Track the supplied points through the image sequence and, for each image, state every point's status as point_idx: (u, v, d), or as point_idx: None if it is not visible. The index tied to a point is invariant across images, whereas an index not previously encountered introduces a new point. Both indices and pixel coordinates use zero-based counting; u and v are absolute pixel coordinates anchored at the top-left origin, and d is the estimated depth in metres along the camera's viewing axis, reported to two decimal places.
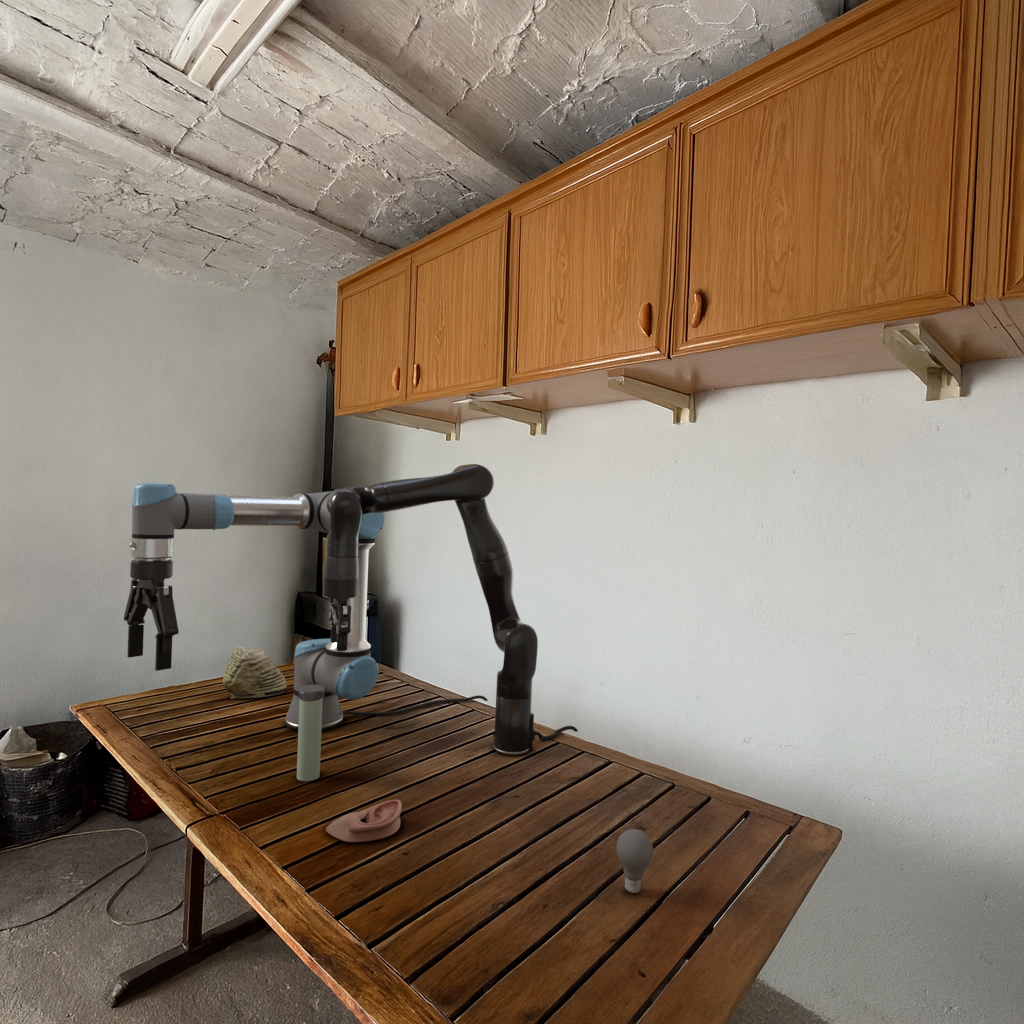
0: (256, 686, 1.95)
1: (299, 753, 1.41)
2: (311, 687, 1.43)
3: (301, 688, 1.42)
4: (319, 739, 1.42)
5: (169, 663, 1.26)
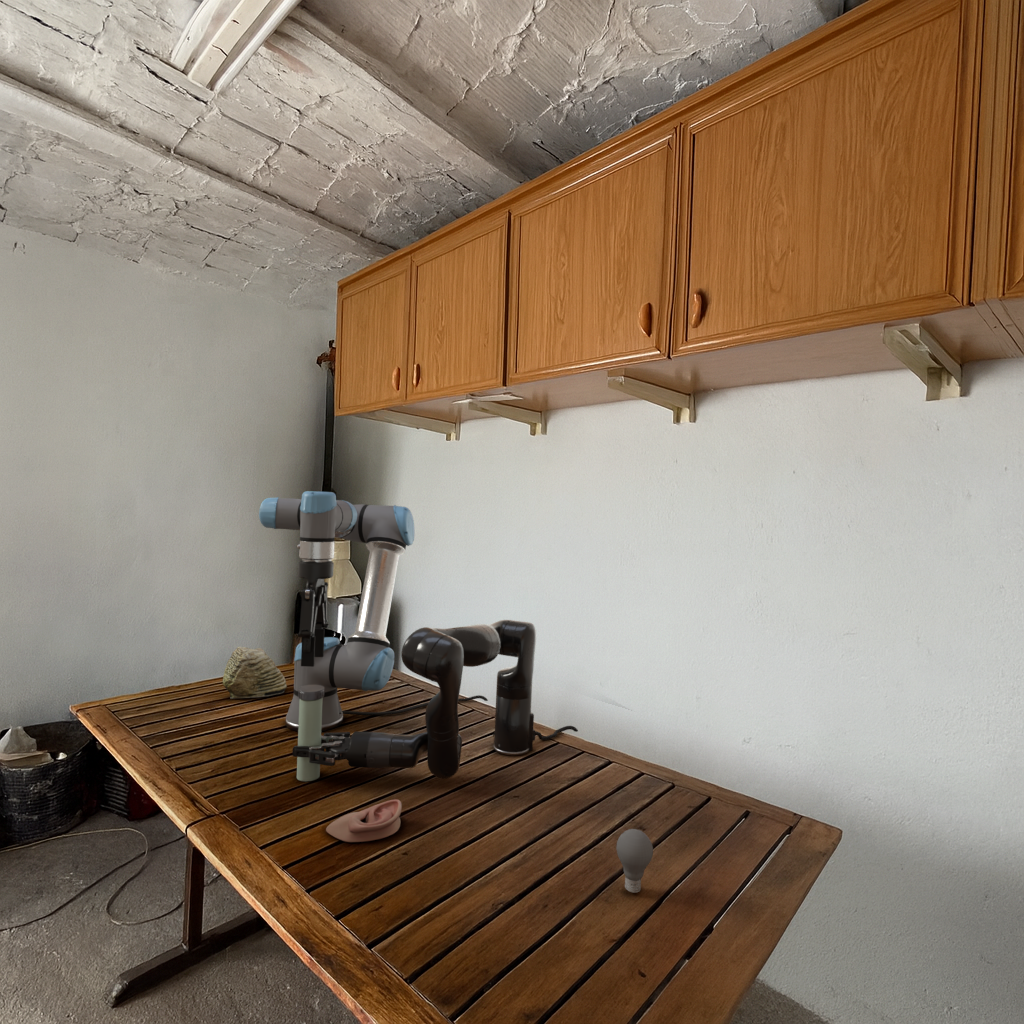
0: (256, 686, 1.95)
1: None
2: (311, 687, 1.43)
3: (301, 688, 1.42)
4: (319, 739, 1.42)
5: (311, 661, 1.38)
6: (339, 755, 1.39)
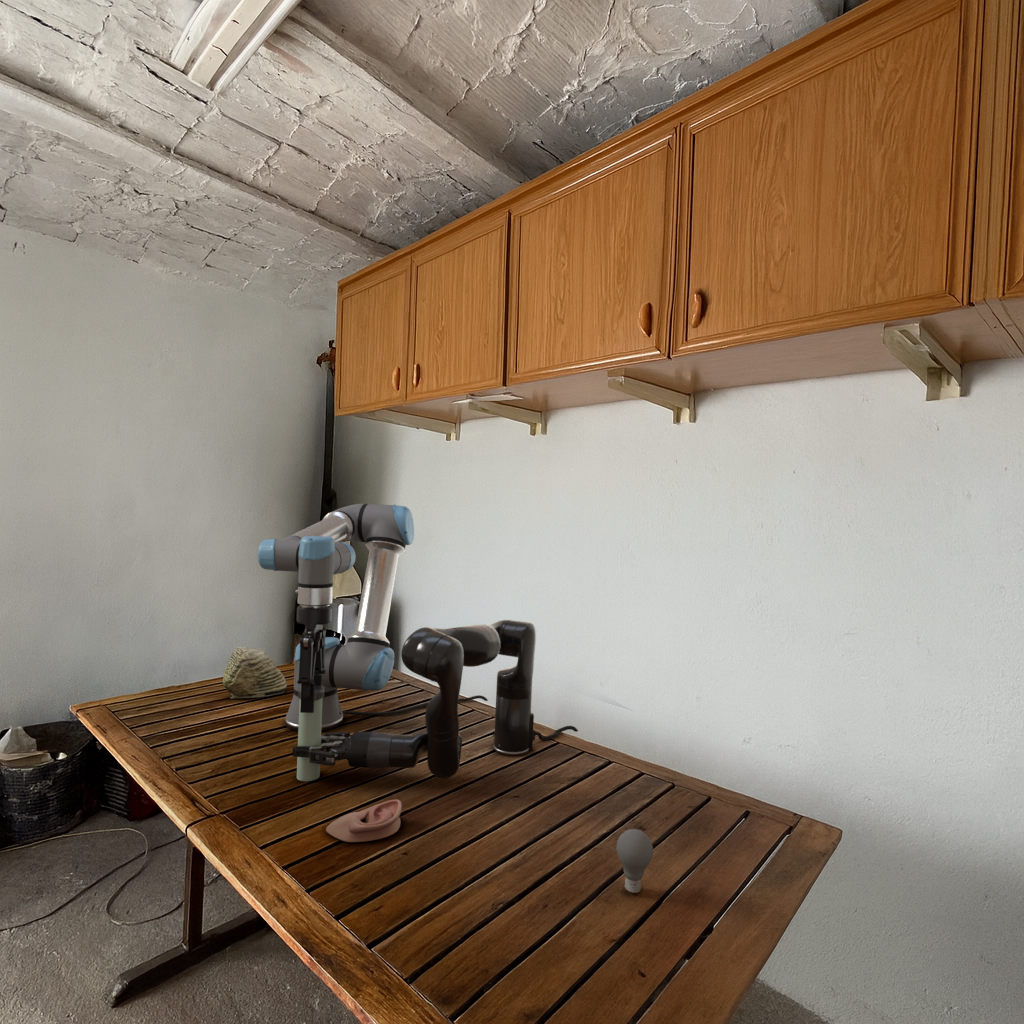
0: (256, 686, 1.95)
1: None
2: None
3: None
4: (319, 739, 1.42)
5: (311, 708, 1.39)
6: (339, 755, 1.39)
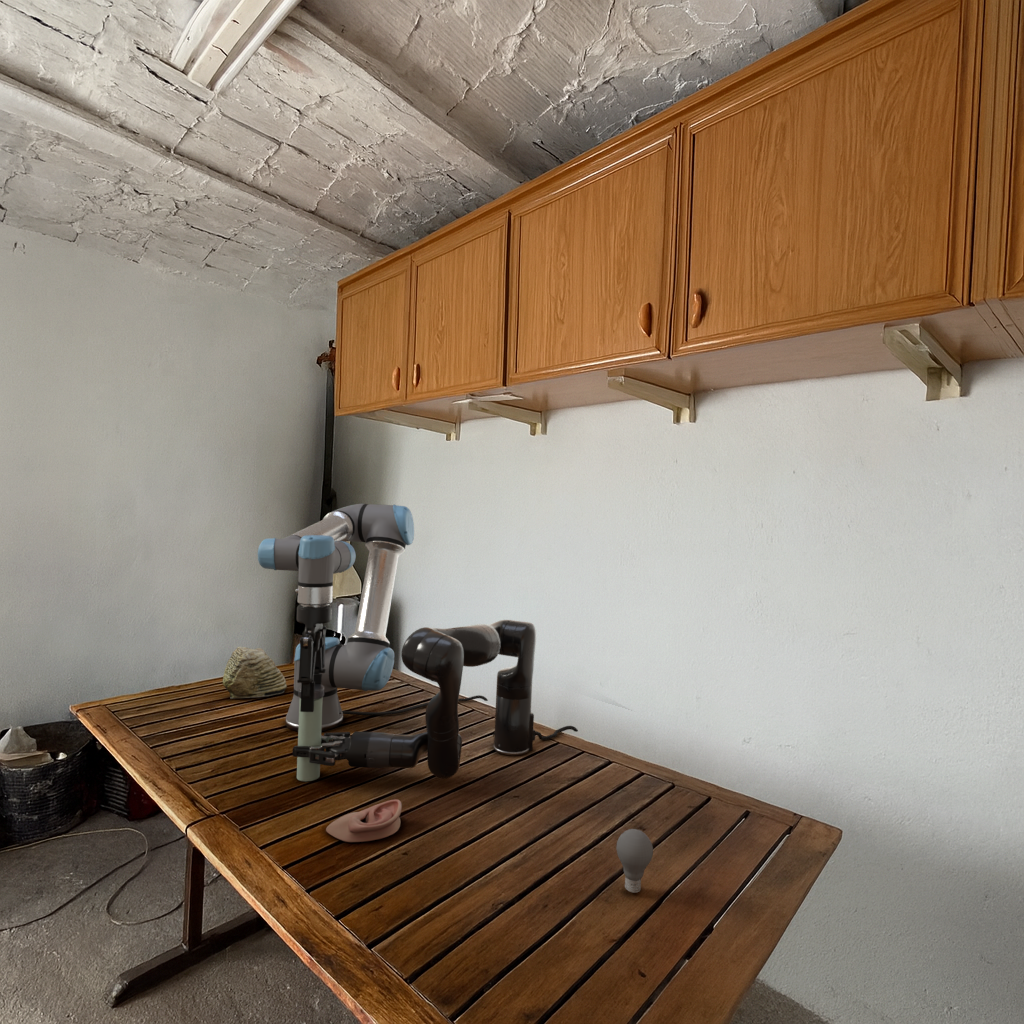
0: (256, 686, 1.95)
1: None
2: None
3: None
4: (319, 739, 1.42)
5: (311, 707, 1.39)
6: (339, 755, 1.39)
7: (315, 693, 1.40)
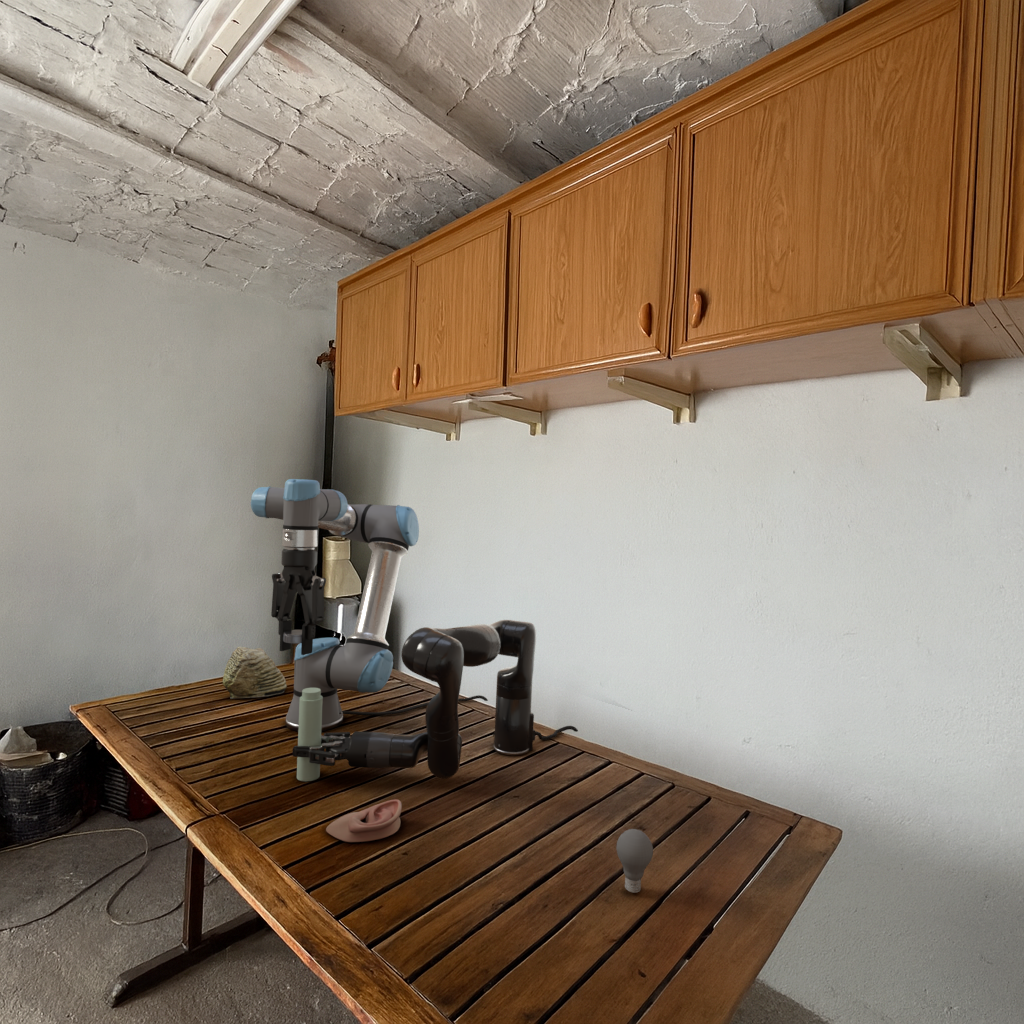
0: (256, 686, 1.95)
1: None
2: (294, 632, 1.41)
3: (301, 633, 1.40)
4: (319, 739, 1.42)
5: (311, 648, 1.41)
6: (339, 755, 1.39)
7: None
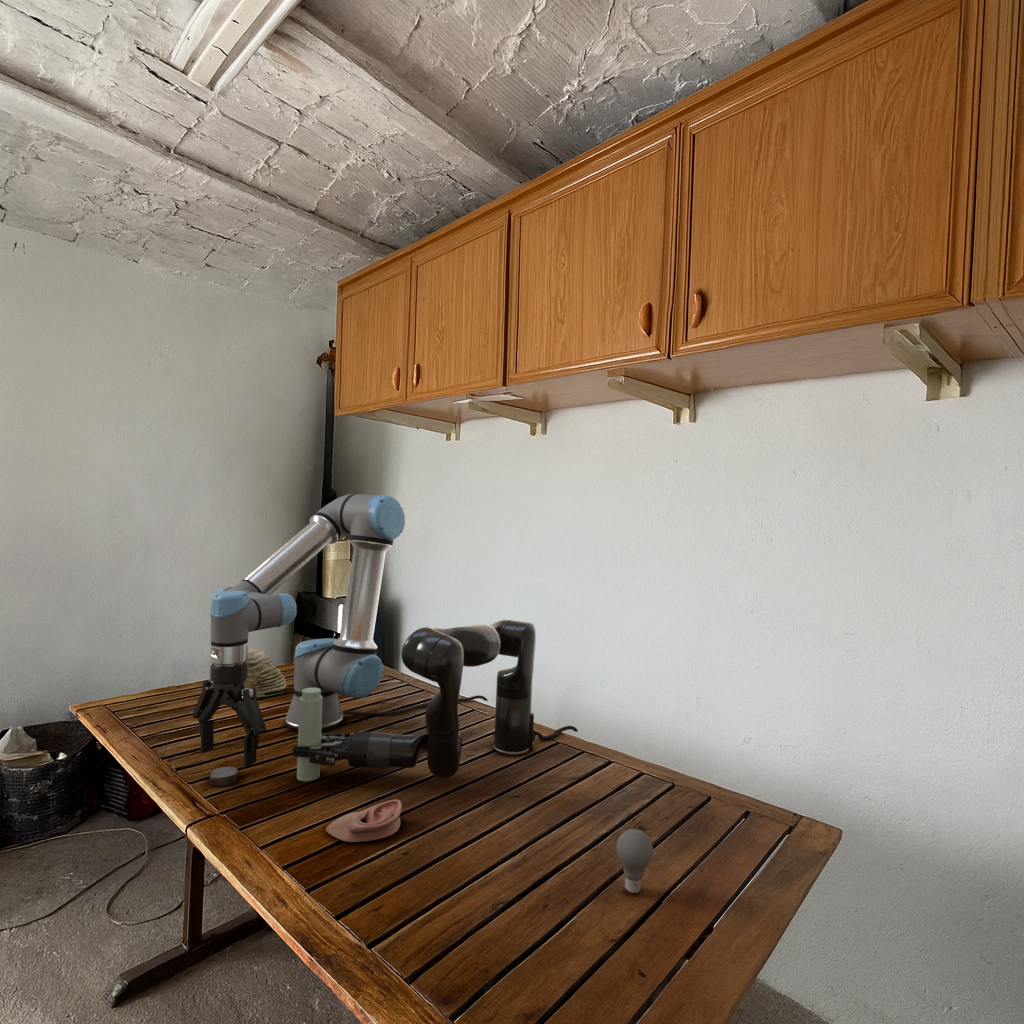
0: (256, 686, 1.95)
1: None
2: (221, 772, 1.39)
3: (227, 775, 1.38)
4: (319, 739, 1.42)
5: (255, 757, 1.38)
6: (339, 755, 1.39)
7: (236, 774, 1.40)
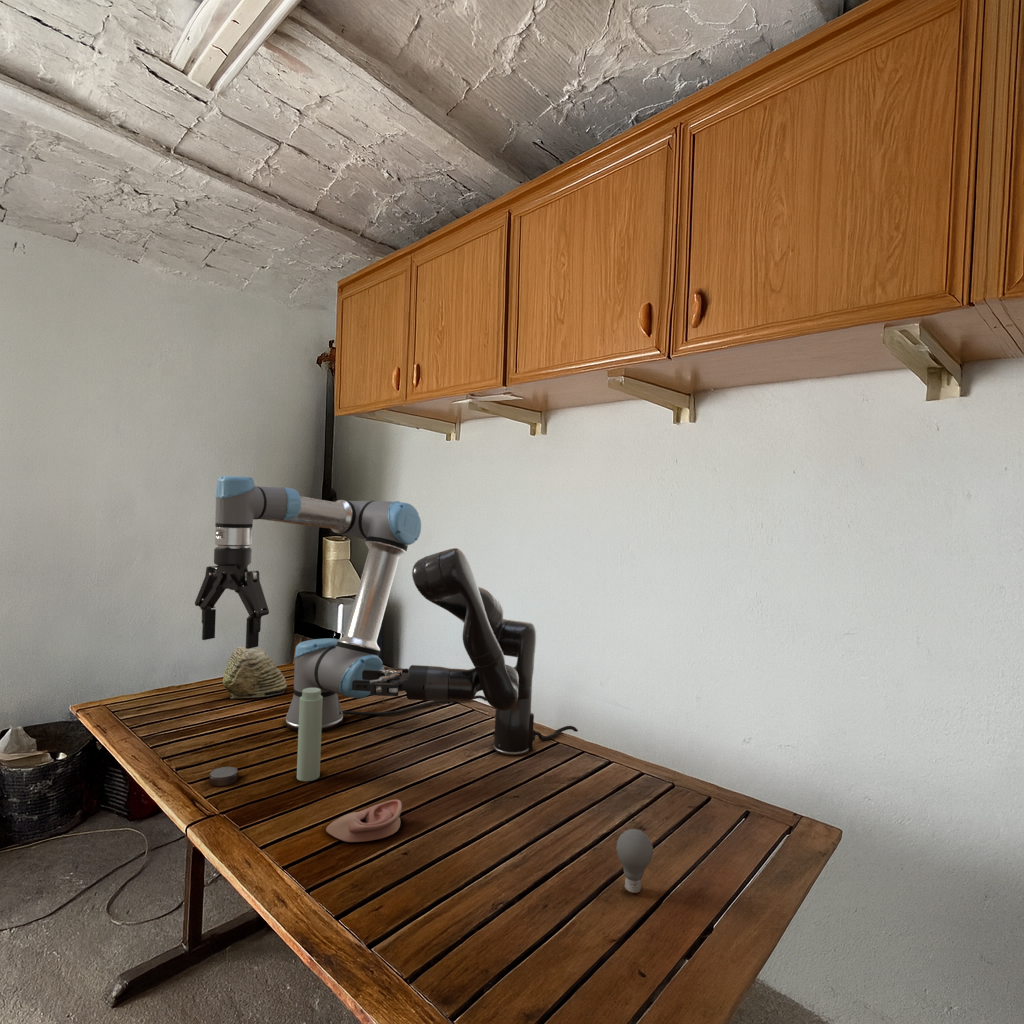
0: (256, 686, 1.95)
1: (299, 753, 1.41)
2: (221, 772, 1.39)
3: (227, 775, 1.38)
4: (319, 739, 1.42)
5: (257, 642, 1.37)
6: (399, 686, 1.38)
7: (236, 774, 1.40)
